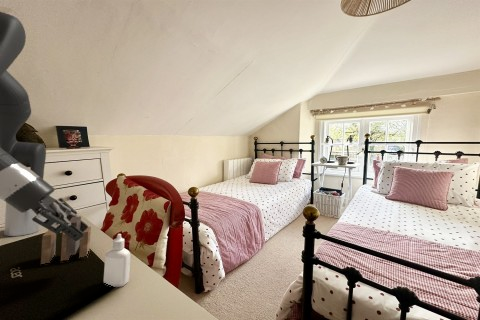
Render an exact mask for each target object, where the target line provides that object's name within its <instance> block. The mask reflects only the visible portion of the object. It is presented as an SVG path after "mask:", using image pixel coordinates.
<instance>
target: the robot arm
mask: <svg viewBox="0 0 480 320" xmlns="http://www.w3.org/2000/svg"><path fill="white" fill-rule="evenodd" d="M26 35H27V34H26V30H25V27H24V25H23V23H22V22H21V20H20V19H18V17H16V16H14V15H11V14H10V13H5V12H2V11H0V199H1V200H3V201H4V202H5V213H4V214H5V215H4V230H3V235H4V236H7V237H17V236H18V237H19V236H27V235H31V234H34V233H38V232H39V231H40V230H41V226H42V227H43V228H45V229H47V231H48V230H50V231H52V232H54V233H56V235H58V234H59V233H60V234H61V233H62V234H63V233H65V234H66V235H68V236H69V237H70V238H72V239H73V240H75V241H78V240H79V239H80V238H81V237H83V235H84V233H83V232H84V231H85V230H86V229H87V228H88V227H89V225H88V224H87V223H85V222H84V221H82V220H81V227H80V230H79V229H78V228H77V227H75V226H74V225H73V224H71V222H70V220H71V218H72V217H79V216H78V215H77V214H78V212H77V210H75V209H74V208H73V207H72V206H71V205H70V204H69V203H67V202H66V200H65V199H64V198H63V197H60V198H58V199H55V198H54V197H52V196H51V195H52V194H53V193H54V192H55V187H54V186H52V185H50V184H49V183H48V182H47V181H45V180H44V175H45V165H46V159H47V149H46V147H45V145H44V144H42V143H39V142H38V143H37V142H28V141H27V142H24V141H18V140H17V138H16V135H17V133H18V131H20V129H21V128H22V126H24V124H25V123H27V122H28V120H29V119H30V117H31V114H32V108H31V102H30V98H29V94H28V92H27V90H26V89H25V87H23V85H22V84H21V83H20V82H19V81H18V80H17V79H16V78H15V77H14V76H13V75H12V74H11V73H10V72H9V71H8V69H9V68H10V66H11V65H12V64H13V63H14V61H16V59H17V58H18V56H19V55H20V54H21V53H22V52H23V49H24V48H25V45H26V38H27V37H26Z"/></svg>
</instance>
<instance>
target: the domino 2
mask: <svg viewBox="0 0 480 320" xmlns="http://www.w3.org/2000/svg"><path fill="white" fill-rule="evenodd" d="M66 241H67V235H66V234H65V233H64V232H62V234H61V252H60V262H61V261H63V260H69V258H70V256H71V255H68V256H66ZM71 257H72V256H71ZM70 259H71V258H70ZM69 261H70V260H69Z"/></svg>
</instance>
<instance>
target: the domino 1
mask: <svg viewBox="0 0 480 320" xmlns="http://www.w3.org/2000/svg"><path fill="white" fill-rule="evenodd" d="M56 241H57V234H56V233H54V232H52V231H50V230H48V229H47V231H46V232H45V233H44V234H43V235H42V239H41V254H40V255H41V257H40V265H41V264H45V263H51V262H52V261H53V259H54V258H55V257H54V255H55V256H56V243H57V242H56ZM53 257H54V258H53ZM52 258H53V259H52ZM51 260H52V261H51ZM50 261H51V262H50ZM45 265H46V264H45Z"/></svg>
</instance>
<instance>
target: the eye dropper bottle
mask: <svg viewBox="0 0 480 320" xmlns="http://www.w3.org/2000/svg"><path fill="white" fill-rule="evenodd" d="M112 242H113V243H112V248H111V249H109V250H107V251H106V252H105V254H104V255H105V257H104V269H103V284H104V283H106V284H108V285H111V286H113V287H115V288H121V287H124V286H125V285H126V284H128V282H130V270H131V269H130V268H131V267H130V266H131V252H130V251H129V250H128V249H126V248H125V238H123V237H122V234H121V233H118V234H117V236H116V238H114V239H113V240H112ZM106 284H105V285H106ZM108 285H107V286H108ZM111 286H110V287H111ZM113 287H112V288H113Z"/></svg>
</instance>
